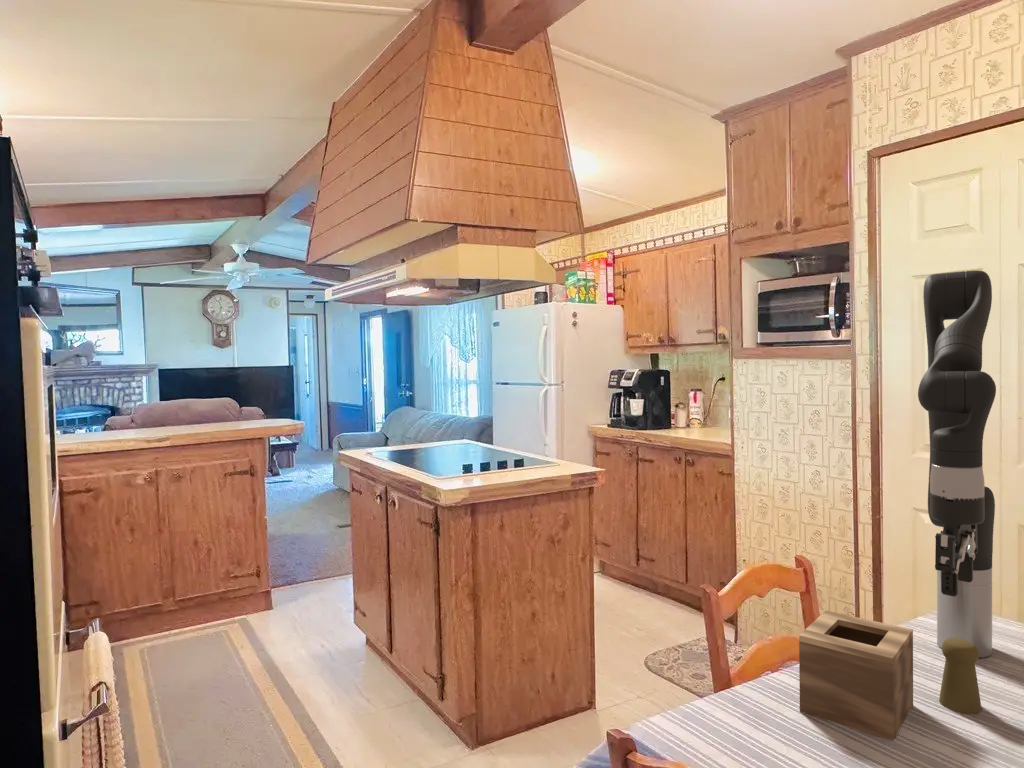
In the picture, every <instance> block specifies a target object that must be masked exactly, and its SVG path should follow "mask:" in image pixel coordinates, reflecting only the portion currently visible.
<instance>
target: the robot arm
mask: <svg viewBox="0 0 1024 768" xmlns="http://www.w3.org/2000/svg"><path fill="white" fill-rule="evenodd" d="M992 287H993V286H992V281H991V278H990V275H989V274H988V273H987V272H986V271H983V270H966V271H965V270H962V271H952V272H951V271H950V272H942V273H934V274H930V275H928V276H927V277H926V279H925V281H924V285H923V309H924V321H925V330H926V331H925V334H926V344H927V345H926V346H927V370H926V371H925V373H924V375H923V376H922V377H921V380H920V382H919V384H918V390H917V398H918V402H919V405H920V406H921V407H922V408H923V409H924V410H925V411H927V413H928V415H927V416H928V426H929V427H928V428H929V432H928V433H929V468H928V469H929V470H928V485H927V487H928V488H927V513H928V517H929V520H930V523H932V524H933V525H934V526H936V527H939V528H942V530H941V531H940V532H937V533H936V534H935V535H934V536H935V537H934V538H935V554H934V555H935V557H934V558H935V559H934V560H935V561H934V562H935V564H934V568H935V570H936V583H937V584H936V621H937V622H936V643H937V645H938V647H939V648H941V649H942V644H943V642H944V641H945V640H946V639H948V638H960V639H965V640H968V641H970V642H972V643H973V644H975V646H976V647H977V649H978V652H979V657H978V659H979V658H987V657H990V656H991V655H992V654H993V553H994V552H993V551H994V549H993V548H994V547H993V546H994V529H995V528H994V527H995V526H994V524H995V512H996V511H995V510H996V503H995V502H996V499H995V495H994V492H993V491H992V489H991V488H990V487H988V486H985V475H984V471H983V470H984V469H983V468H984V467H983V445H984V444H983V442H984V441H983V440H984V433H985V428H986V425H987V420H988V418H989V415H990V413H991V409H992V407H993V404H994V402H995V398H996V393H997V386H996V382H995V381H994V379H993V377H992V376H991V375H990V374H989V373H987V372H985V371H982V368H983V342H984V341H983V340H984V336H985V333H986V330H987V326H988V322H989V319H990V313H991V309H992V303H993V302H992V301H993V291H992V290H993V288H992ZM946 320H947V321H951V320H954V321H953V322H952V323H950V324H949V325H948V326H947V327H945V324H944V323H945V322H944V321H946Z"/></svg>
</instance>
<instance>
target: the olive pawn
mask: <svg viewBox="0 0 1024 768" xmlns="http://www.w3.org/2000/svg"><path fill="white" fill-rule="evenodd" d="M941 651H942V654H943V656H944V657H945V661H944V667H943V674H942V680H941V684H940V685H941V686H940V693H939V698H938V699H939V700H938V701H939V704H940V705H941V706H942V707H945V708H946V709H947V710H950V711H952V712H956V713H960V714H966V715H977V714H980V713H981V712H982V709H983V708H982V702H981V696H980V689H979V683H978V682H979V681H978V676H977V671H976V663H977V662H978V660H979V658H980V657H979V652H978V649H977V647H976V646H975V644H973V643H972V642H970V641H968V640H965V639H960V638H948V639H946V640H945V641H944V642H943V644H942V648H941ZM978 657H979V658H978Z"/></svg>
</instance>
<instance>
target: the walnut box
mask: <svg viewBox="0 0 1024 768" xmlns="http://www.w3.org/2000/svg"><path fill="white" fill-rule="evenodd" d="M798 641H799V642H798V644H799V645H798V647H799V648H798V649H799V652H798V653H799V658H798V659H799V660H798V661H799V667H798V668H799V669H798V670H799V676H798V677H799V712H801V713H803V712H804V714H807V715H810V716H813V717H816V716H817V717H816V718H819V717H820V718H819V719H823V720H826V721H829V722H832V723H835V724H839V725H841V726H845V727H848V728H851V729H854V730H856V731H861V732H863V733H866V734H870V735H873V736H876V737H878V738H882V739H884V740H885V739H886V740H888V741H891V742H894V741H895V739H896V737H897V735H898V734H899V732H900V730H901V728H902V726H903V724H904V722H905V721H906V719H907V717H908V715H909V714H910V712H911V709H913V706H914V629H911V628H907V627H903V626H898V625H893V624H889V623H884V622H880V621H875V620H870V619H866V618H861V617H857V616H851V615H847V614H843V613H838V612H833V611H829V610H825V611H823V612H822V613H821V615H819V616H818V617H817V618H816V619H814V620H813V622H812V623H811V624H809V625H808V626H807V627H806V628H805V629H804V630H803V631H802V632H801V633H800V634H799V636H798Z"/></svg>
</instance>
